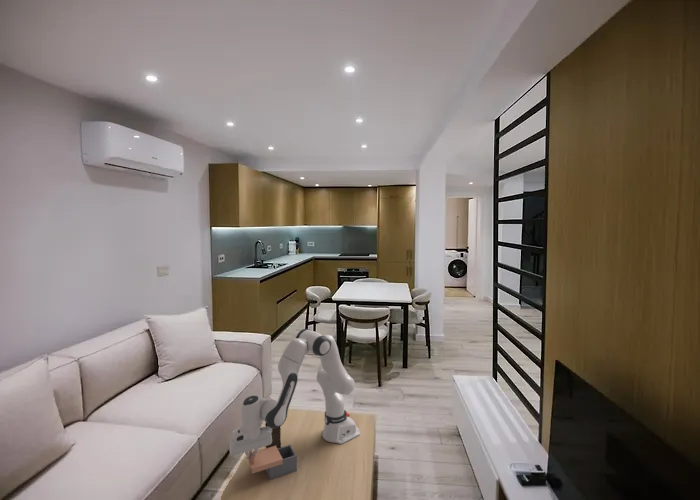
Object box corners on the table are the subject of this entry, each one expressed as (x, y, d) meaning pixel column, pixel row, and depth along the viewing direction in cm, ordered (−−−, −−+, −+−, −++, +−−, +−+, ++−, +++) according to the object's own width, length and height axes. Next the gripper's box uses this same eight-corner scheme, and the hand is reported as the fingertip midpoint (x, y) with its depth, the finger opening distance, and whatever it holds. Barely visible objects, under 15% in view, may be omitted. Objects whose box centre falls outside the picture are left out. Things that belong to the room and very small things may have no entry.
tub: (290, 458, 190) (290, 444, 189) (296, 470, 181) (296, 455, 180) (264, 467, 183) (264, 452, 182) (269, 479, 174) (269, 464, 173)
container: (277, 460, 188) (277, 428, 186) (262, 458, 190) (262, 426, 188) (284, 449, 197) (284, 418, 195) (269, 447, 199) (269, 416, 197)
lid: (275, 449, 186) (275, 438, 185) (282, 463, 176) (282, 451, 175) (246, 458, 179) (246, 446, 178) (252, 473, 169) (252, 460, 168)
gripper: (270, 421, 180) (270, 447, 182) (228, 432, 171) (228, 459, 172) (274, 428, 175) (274, 454, 176) (230, 439, 165) (231, 467, 166)
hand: (251, 457), depth 174 cm, fingers closed on lid
